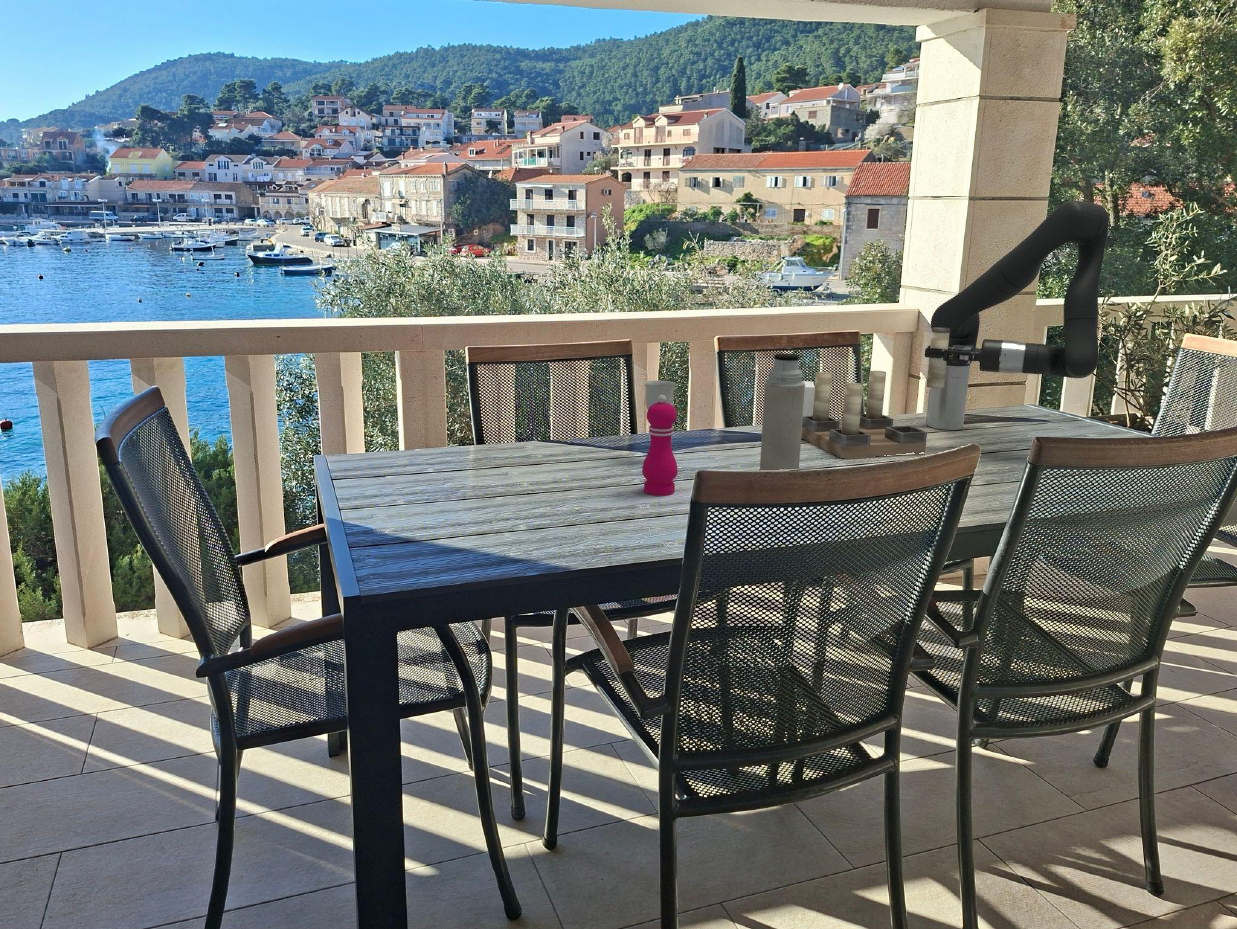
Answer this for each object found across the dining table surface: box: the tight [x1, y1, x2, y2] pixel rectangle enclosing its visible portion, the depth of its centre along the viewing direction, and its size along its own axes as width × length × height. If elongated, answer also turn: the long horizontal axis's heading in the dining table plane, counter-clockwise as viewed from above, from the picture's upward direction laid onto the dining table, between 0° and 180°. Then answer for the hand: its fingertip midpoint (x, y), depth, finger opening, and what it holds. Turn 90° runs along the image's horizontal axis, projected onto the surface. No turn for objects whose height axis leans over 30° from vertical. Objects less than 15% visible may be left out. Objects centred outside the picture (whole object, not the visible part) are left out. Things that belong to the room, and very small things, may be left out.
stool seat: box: [801, 370, 928, 459], centre depth 232 cm, size 22×22×17 cm
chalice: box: [643, 380, 677, 411], centre depth 214 cm, size 7×7×18 cm
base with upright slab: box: [802, 380, 815, 416], centre depth 250 cm, size 9×9×12 cm
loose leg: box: [926, 328, 950, 389], centre depth 227 cm, size 4×4×14 cm
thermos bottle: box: [759, 353, 805, 471], centre depth 194 cm, size 8×8×28 cm
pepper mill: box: [641, 395, 679, 497], centre depth 191 cm, size 7×7×20 cm
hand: (926, 351), depth 228 cm, fingers closed on loose leg, 4 cm apart
